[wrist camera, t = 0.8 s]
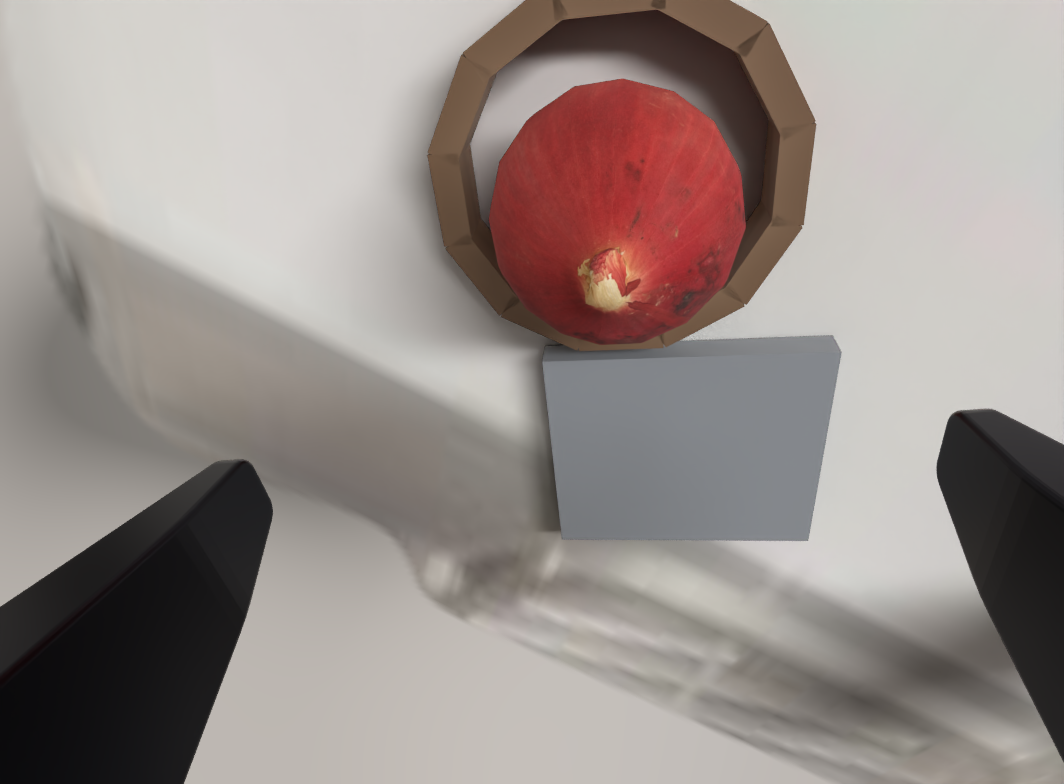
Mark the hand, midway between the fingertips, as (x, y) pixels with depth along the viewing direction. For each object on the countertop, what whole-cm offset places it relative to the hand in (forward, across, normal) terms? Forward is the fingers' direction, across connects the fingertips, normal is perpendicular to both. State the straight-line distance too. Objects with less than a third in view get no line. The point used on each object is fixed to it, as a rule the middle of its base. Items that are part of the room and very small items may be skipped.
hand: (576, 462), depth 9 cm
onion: (+12, -1, 0) cm, 13 cm away
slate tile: (+12, -2, +10) cm, 16 cm away
